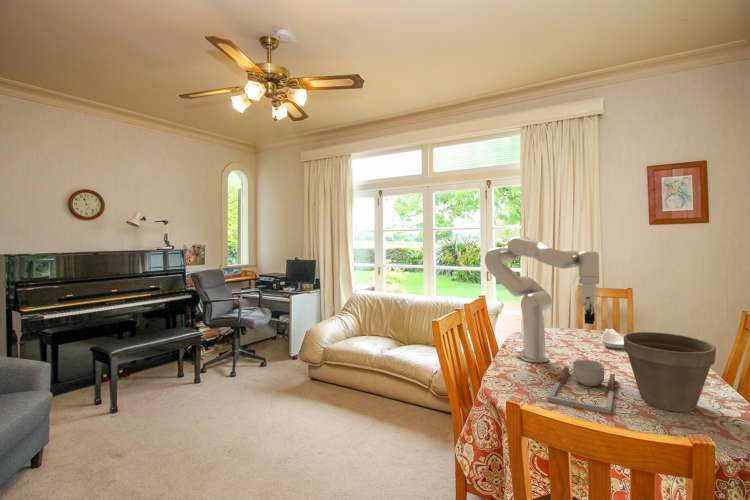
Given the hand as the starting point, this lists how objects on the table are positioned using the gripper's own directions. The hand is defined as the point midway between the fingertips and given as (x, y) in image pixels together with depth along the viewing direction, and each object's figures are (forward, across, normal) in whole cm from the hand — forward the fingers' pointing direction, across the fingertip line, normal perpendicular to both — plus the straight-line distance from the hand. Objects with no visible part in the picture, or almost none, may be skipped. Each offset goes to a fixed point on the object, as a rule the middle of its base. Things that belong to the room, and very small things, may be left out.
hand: (589, 322), depth 159 cm
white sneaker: (+22, -52, +5) cm, 57 cm away
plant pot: (+22, +22, +25) cm, 40 cm away
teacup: (+22, +14, 0) cm, 26 cm away
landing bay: (+21, +32, 0) cm, 38 cm away
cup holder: (+21, +14, 0) cm, 26 cm away
